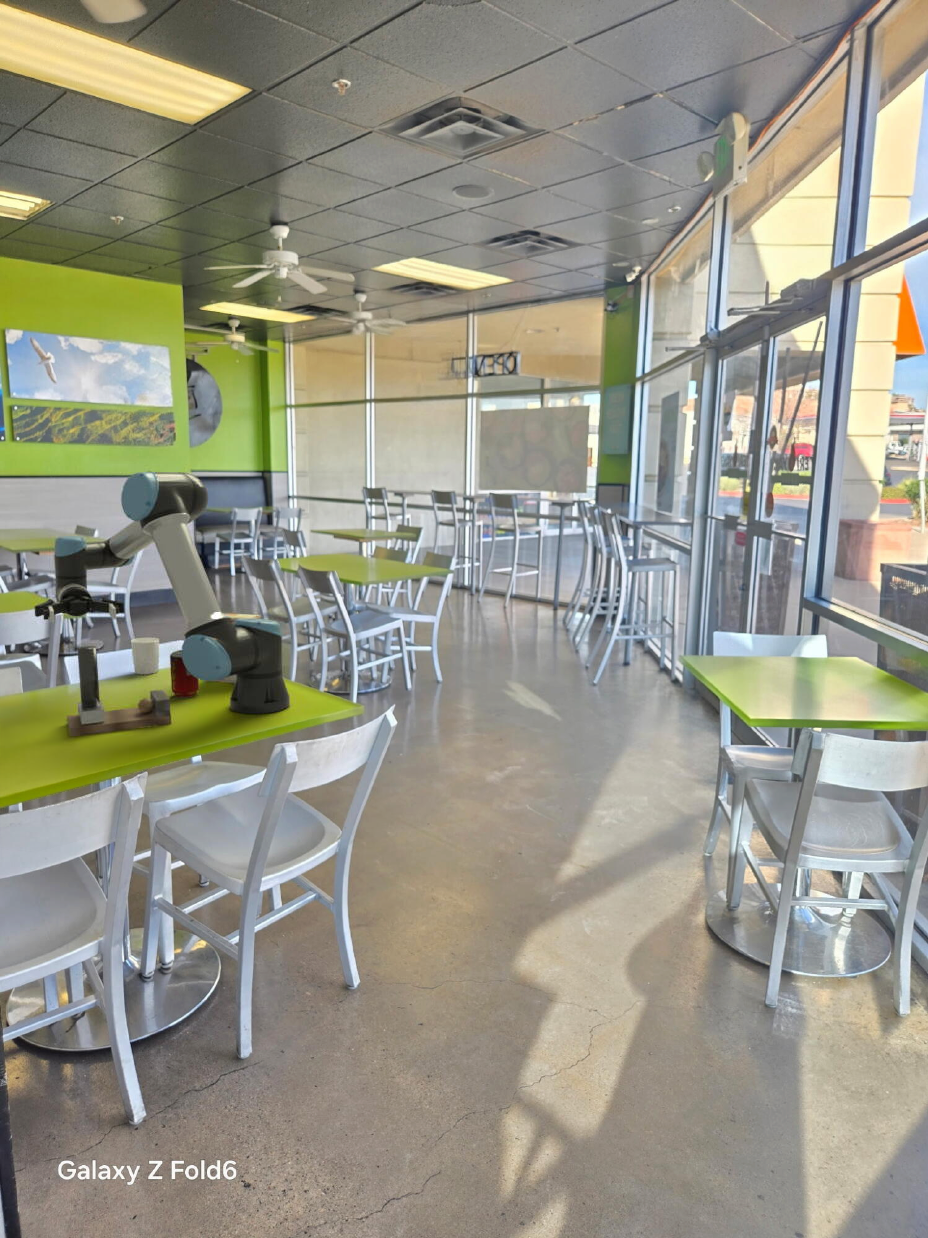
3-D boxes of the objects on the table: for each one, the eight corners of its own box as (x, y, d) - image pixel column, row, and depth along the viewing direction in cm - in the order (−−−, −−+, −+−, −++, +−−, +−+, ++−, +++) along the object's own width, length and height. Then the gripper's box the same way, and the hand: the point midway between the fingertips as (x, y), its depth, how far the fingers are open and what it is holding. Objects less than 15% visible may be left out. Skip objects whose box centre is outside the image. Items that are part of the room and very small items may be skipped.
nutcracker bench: (163, 712, 203) (162, 689, 202) (171, 723, 193) (170, 699, 192) (67, 723, 192) (65, 699, 191) (70, 736, 183) (68, 711, 182)
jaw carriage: (101, 711, 194) (96, 643, 191) (105, 721, 187) (100, 650, 184) (78, 714, 192) (73, 645, 189) (81, 724, 184) (76, 652, 181)
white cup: (150, 676, 239) (149, 643, 237) (127, 674, 240) (125, 641, 239) (165, 670, 246) (164, 638, 245) (142, 668, 248) (140, 636, 246)
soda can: (204, 693, 221) (202, 650, 218) (187, 700, 214) (185, 655, 212) (184, 690, 223) (181, 647, 221) (166, 697, 217) (163, 652, 214)
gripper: (126, 611, 218) (139, 627, 200) (22, 616, 205) (26, 633, 187) (125, 584, 216) (138, 598, 199) (20, 587, 204) (24, 602, 186)
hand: (83, 615), depth 193 cm, fingers open, 13 cm apart
